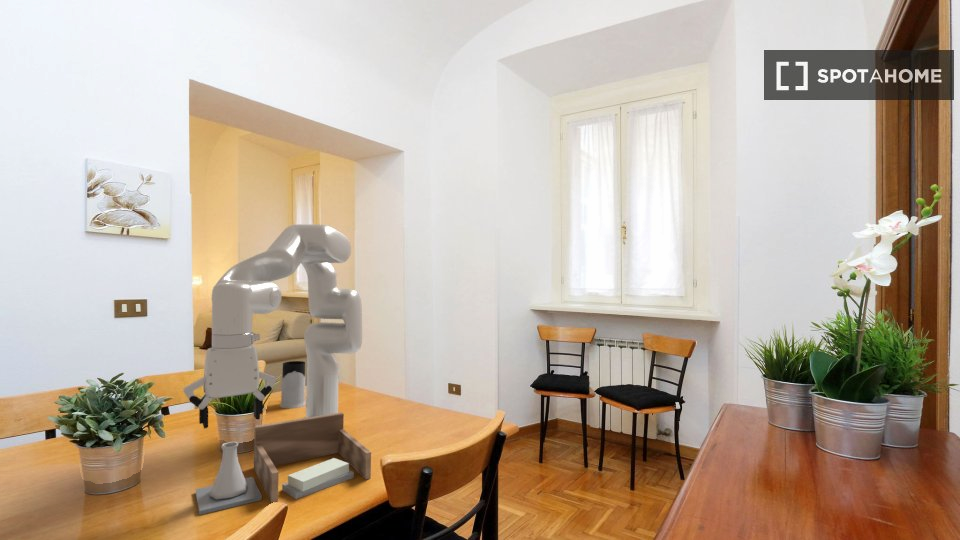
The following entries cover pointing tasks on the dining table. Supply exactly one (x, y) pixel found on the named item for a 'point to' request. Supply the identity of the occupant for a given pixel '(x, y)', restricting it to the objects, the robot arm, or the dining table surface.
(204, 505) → the slate coaster
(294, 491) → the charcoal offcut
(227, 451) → the flask
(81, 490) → the dining table surface
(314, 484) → the sage offcut
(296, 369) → the glass holder
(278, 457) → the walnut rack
